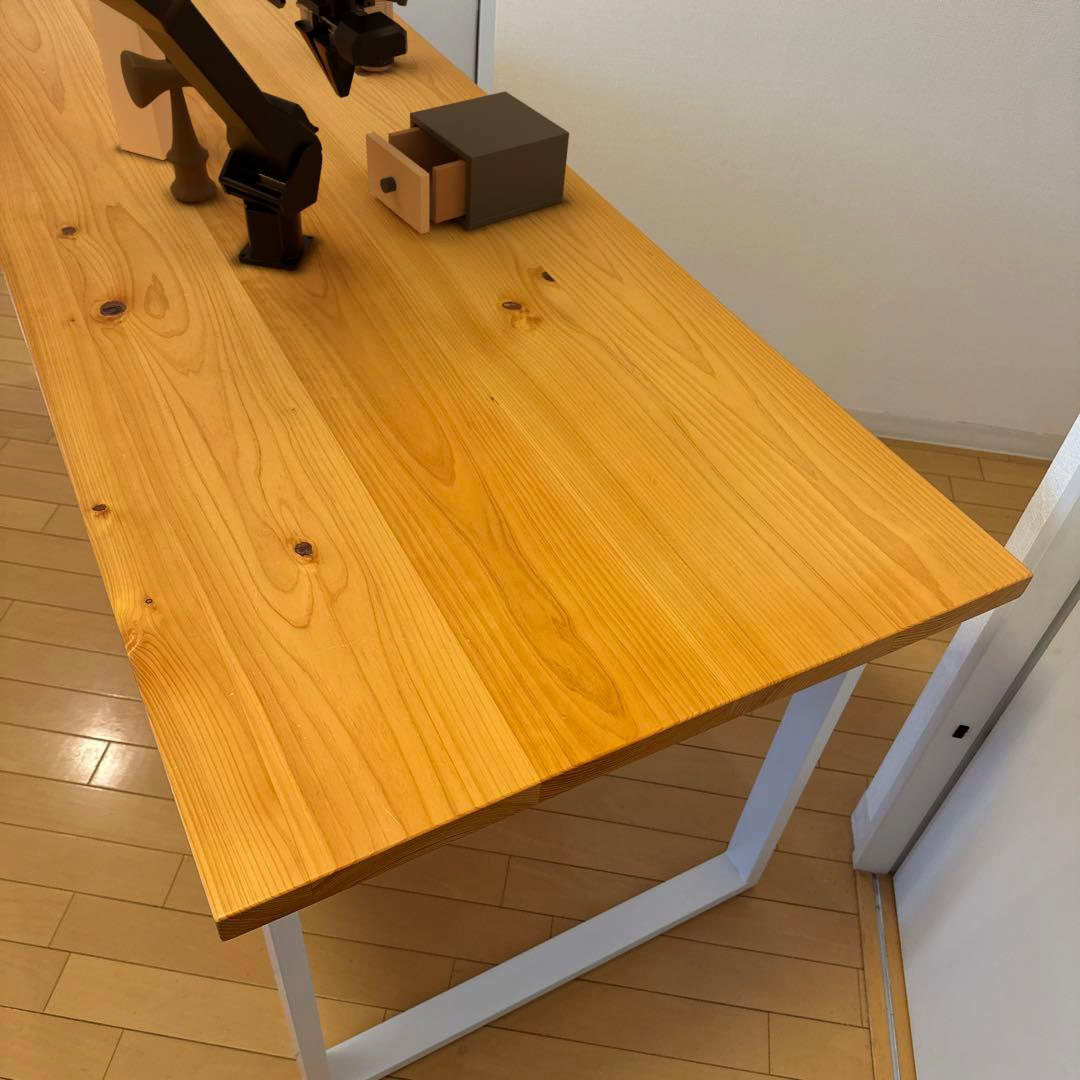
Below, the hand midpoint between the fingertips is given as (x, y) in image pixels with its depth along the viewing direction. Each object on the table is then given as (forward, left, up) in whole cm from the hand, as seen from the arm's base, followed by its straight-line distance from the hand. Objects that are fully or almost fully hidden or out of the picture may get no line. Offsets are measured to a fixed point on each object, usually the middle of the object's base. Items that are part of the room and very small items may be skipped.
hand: (342, 95), depth 108 cm
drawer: (+3, -10, -12) cm, 15 cm away
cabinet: (+8, -15, -13) cm, 21 cm away
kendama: (-3, +17, -13) cm, 22 cm away
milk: (+7, +26, -13) cm, 30 cm away
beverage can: (+40, +8, -13) cm, 43 cm away
